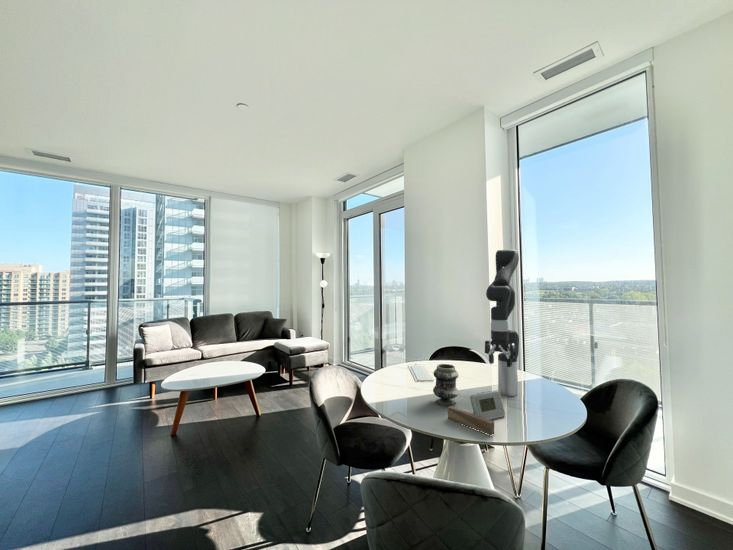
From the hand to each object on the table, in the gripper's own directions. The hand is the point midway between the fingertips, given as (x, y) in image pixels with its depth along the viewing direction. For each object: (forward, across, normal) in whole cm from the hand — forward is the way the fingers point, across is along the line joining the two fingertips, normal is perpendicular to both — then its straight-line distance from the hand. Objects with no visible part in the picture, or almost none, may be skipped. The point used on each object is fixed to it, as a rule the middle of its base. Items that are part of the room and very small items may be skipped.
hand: (500, 365), depth 150 cm
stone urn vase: (+20, +21, +13) cm, 32 cm away
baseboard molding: (+20, +63, -11) cm, 67 cm away
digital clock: (+21, -1, +12) cm, 24 cm away
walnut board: (+21, -2, +25) cm, 32 cm away
